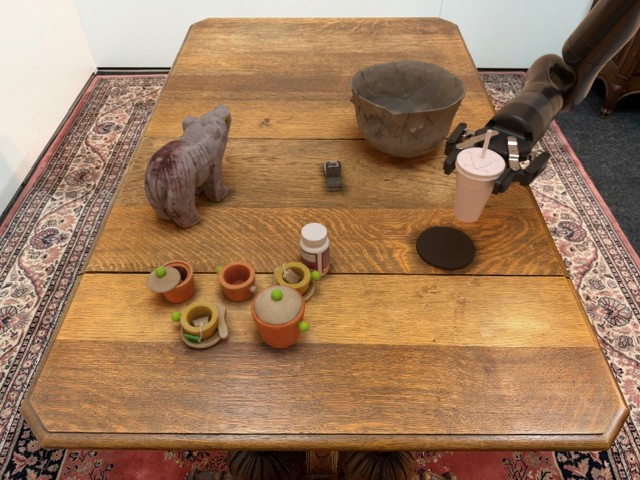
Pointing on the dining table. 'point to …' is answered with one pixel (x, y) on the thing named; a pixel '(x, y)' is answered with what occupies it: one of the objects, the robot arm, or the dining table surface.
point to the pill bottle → (315, 248)
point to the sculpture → (189, 167)
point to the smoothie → (475, 180)
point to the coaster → (445, 248)
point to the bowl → (406, 105)
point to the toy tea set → (238, 284)
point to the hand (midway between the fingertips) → (470, 179)
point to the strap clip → (333, 175)
